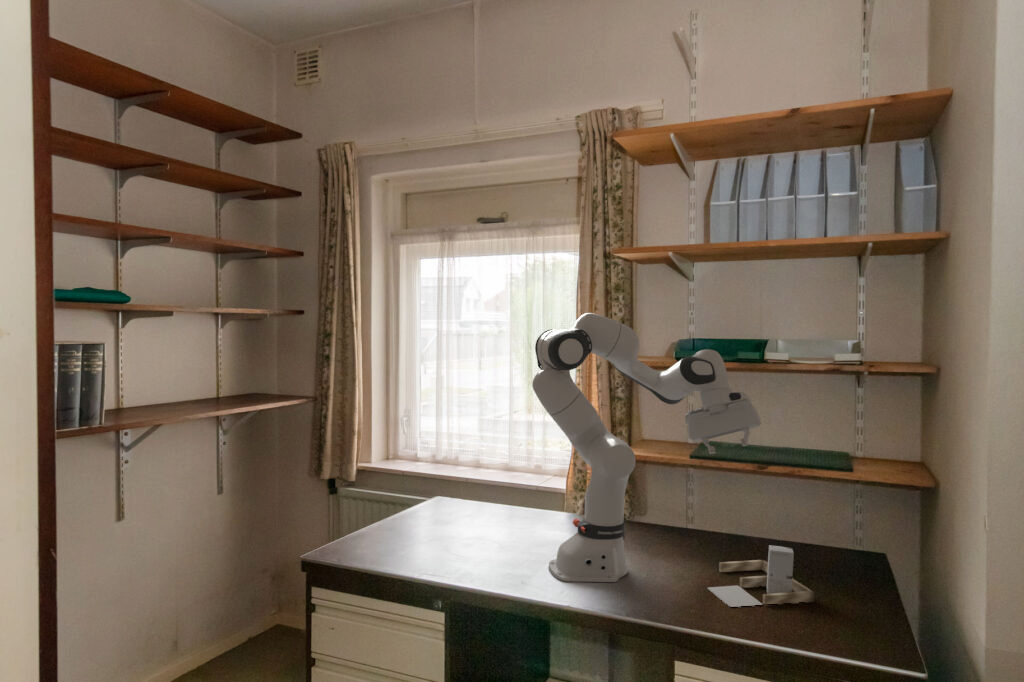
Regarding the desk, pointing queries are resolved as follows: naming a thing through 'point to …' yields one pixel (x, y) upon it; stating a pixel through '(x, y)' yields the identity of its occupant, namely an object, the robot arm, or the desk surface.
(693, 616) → the desk surface
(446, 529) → the desk surface
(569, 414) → the robot arm
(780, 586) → the skincare box
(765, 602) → the lane rack
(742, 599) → the grey mat
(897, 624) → the desk surface
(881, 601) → the desk surface
